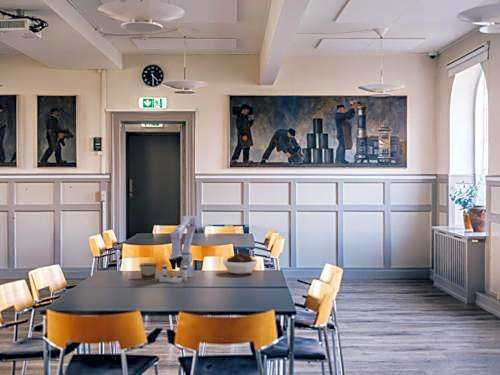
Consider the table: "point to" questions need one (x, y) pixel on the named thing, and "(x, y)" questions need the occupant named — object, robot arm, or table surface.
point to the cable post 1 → (164, 270)
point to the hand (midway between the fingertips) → (176, 268)
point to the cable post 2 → (184, 273)
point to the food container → (148, 270)
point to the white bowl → (240, 264)
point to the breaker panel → (171, 279)
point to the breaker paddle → (172, 273)
